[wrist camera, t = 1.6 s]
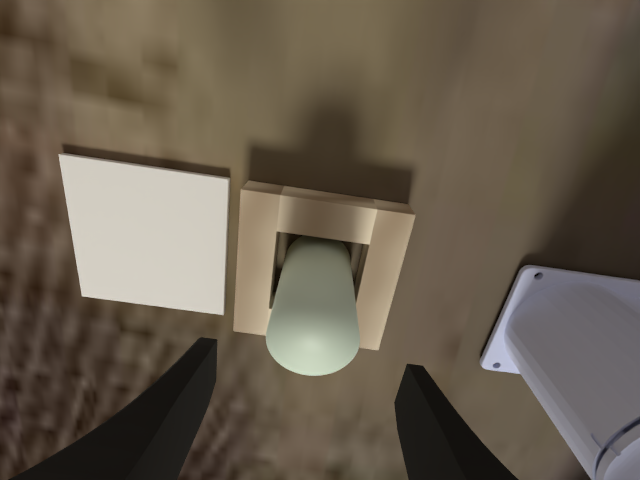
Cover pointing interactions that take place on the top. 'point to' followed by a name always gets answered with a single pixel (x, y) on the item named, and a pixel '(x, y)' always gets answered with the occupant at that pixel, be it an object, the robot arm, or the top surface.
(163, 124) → the top surface
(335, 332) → the sage peg
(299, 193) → the pocket holder
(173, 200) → the pad
